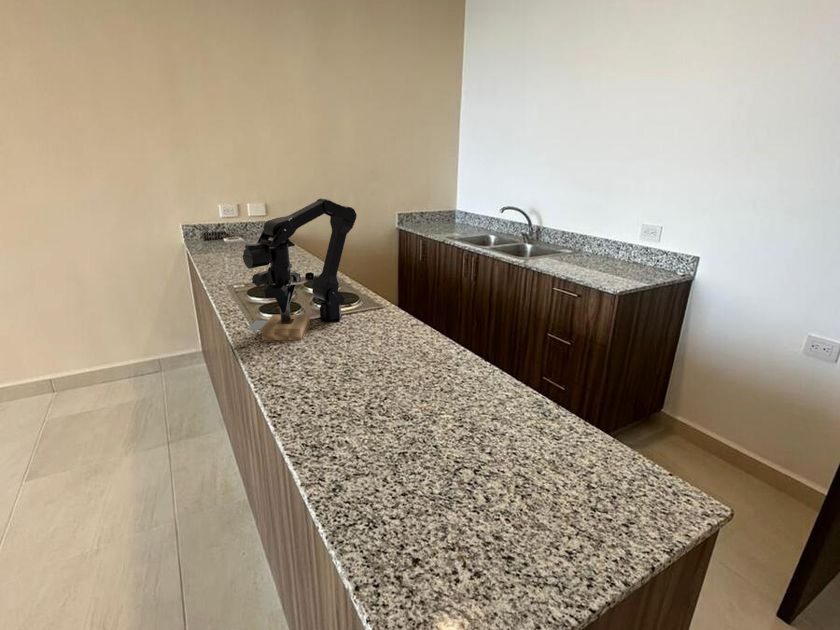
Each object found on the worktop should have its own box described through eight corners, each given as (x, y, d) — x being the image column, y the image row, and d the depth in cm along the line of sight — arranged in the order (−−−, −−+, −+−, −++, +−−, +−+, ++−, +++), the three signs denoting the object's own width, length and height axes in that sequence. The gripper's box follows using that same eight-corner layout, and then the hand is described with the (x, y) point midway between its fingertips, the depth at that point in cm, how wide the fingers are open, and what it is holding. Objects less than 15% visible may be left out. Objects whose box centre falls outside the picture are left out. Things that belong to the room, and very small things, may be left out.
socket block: (309, 326, 154) (309, 314, 153) (301, 340, 143) (300, 328, 142) (274, 325, 154) (272, 314, 153) (262, 340, 143) (261, 328, 142)
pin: (291, 319, 149) (289, 289, 145) (289, 322, 146) (286, 292, 142) (282, 319, 149) (279, 289, 145) (279, 322, 146) (276, 292, 142)
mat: (276, 321, 158) (276, 320, 158) (268, 330, 151) (268, 329, 151) (255, 321, 158) (255, 320, 158) (247, 330, 151) (247, 329, 151)
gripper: (263, 255, 149) (268, 300, 155) (242, 270, 132) (249, 321, 138) (297, 255, 149) (302, 300, 155) (281, 270, 132) (286, 321, 138)
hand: (285, 310), depth 146 cm, fingers closed on pin, 3 cm apart
